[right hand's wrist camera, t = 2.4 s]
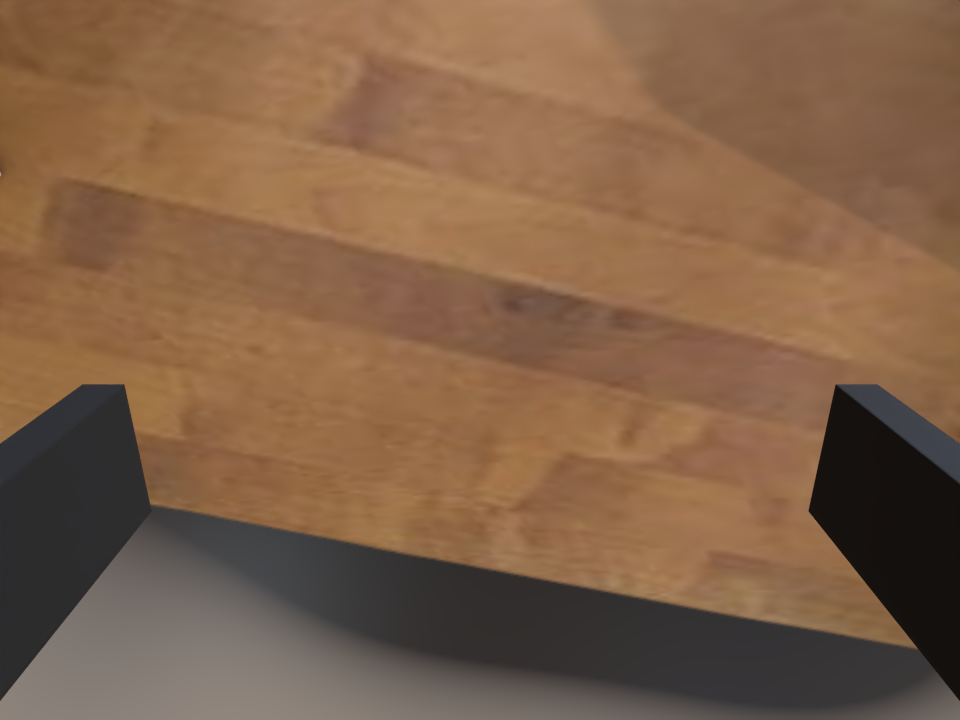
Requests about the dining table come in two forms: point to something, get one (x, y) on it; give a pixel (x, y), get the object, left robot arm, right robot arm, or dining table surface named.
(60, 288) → the dining table surface
